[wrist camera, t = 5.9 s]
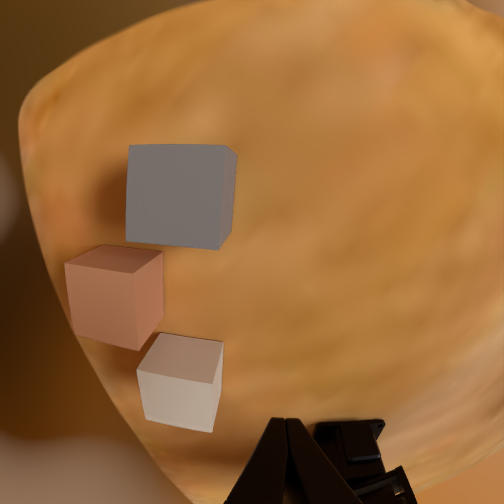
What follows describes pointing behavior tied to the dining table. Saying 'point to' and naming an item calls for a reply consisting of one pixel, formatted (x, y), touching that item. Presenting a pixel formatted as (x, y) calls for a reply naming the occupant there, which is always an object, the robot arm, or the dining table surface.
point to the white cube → (181, 381)
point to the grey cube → (180, 194)
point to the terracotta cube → (116, 294)
